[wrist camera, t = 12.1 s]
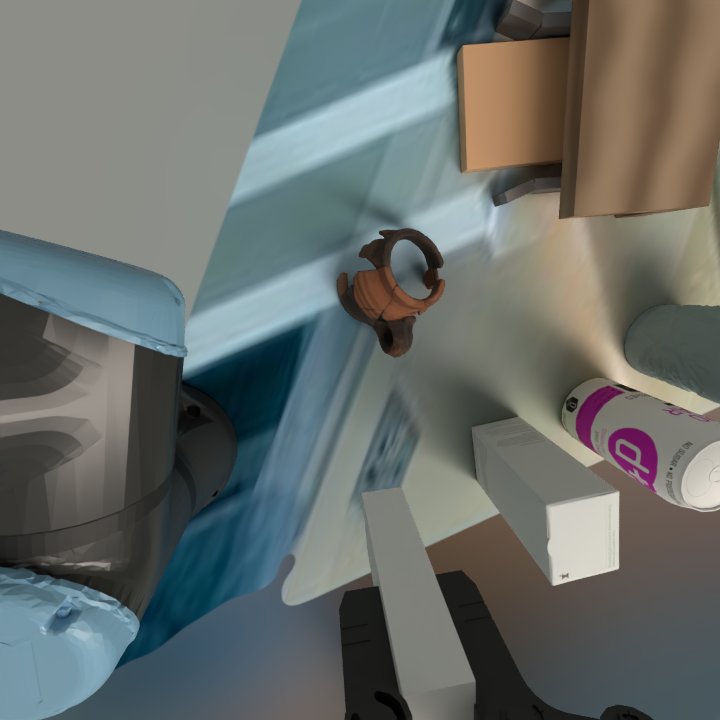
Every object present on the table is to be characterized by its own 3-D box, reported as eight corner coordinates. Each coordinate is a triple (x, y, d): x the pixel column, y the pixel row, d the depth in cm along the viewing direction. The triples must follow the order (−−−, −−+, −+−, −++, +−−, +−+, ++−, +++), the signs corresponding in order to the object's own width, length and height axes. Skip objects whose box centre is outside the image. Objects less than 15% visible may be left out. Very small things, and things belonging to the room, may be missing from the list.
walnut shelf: (491, 227, 37) (530, 219, 31) (495, -9, 32) (543, -81, 25) (641, 216, 39) (708, 205, 32) (668, -11, 34) (755, -80, 27)
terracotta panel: (459, 174, 36) (467, 169, 34) (454, 57, 34) (462, 45, 32) (606, 158, 38) (621, 153, 36) (613, 44, 35) (630, 32, 33)
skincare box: (522, 472, 46) (622, 573, 31) (473, 483, 45) (550, 591, 30) (519, 413, 43) (626, 490, 28) (467, 424, 43) (547, 509, 28)
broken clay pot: (322, 251, 37) (364, 217, 30) (395, 250, 41) (446, 220, 34) (345, 367, 37) (392, 360, 30) (415, 352, 42) (469, 343, 35)
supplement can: (557, 443, 45) (670, 526, 31) (558, 381, 43) (680, 440, 29) (617, 431, 46) (755, 508, 31) (621, 370, 44) (771, 422, 29)
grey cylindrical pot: (622, 389, 44) (730, 433, 33) (612, 312, 41) (726, 330, 30) (697, 361, 45) (830, 395, 33) (692, 283, 42) (836, 290, 30)
